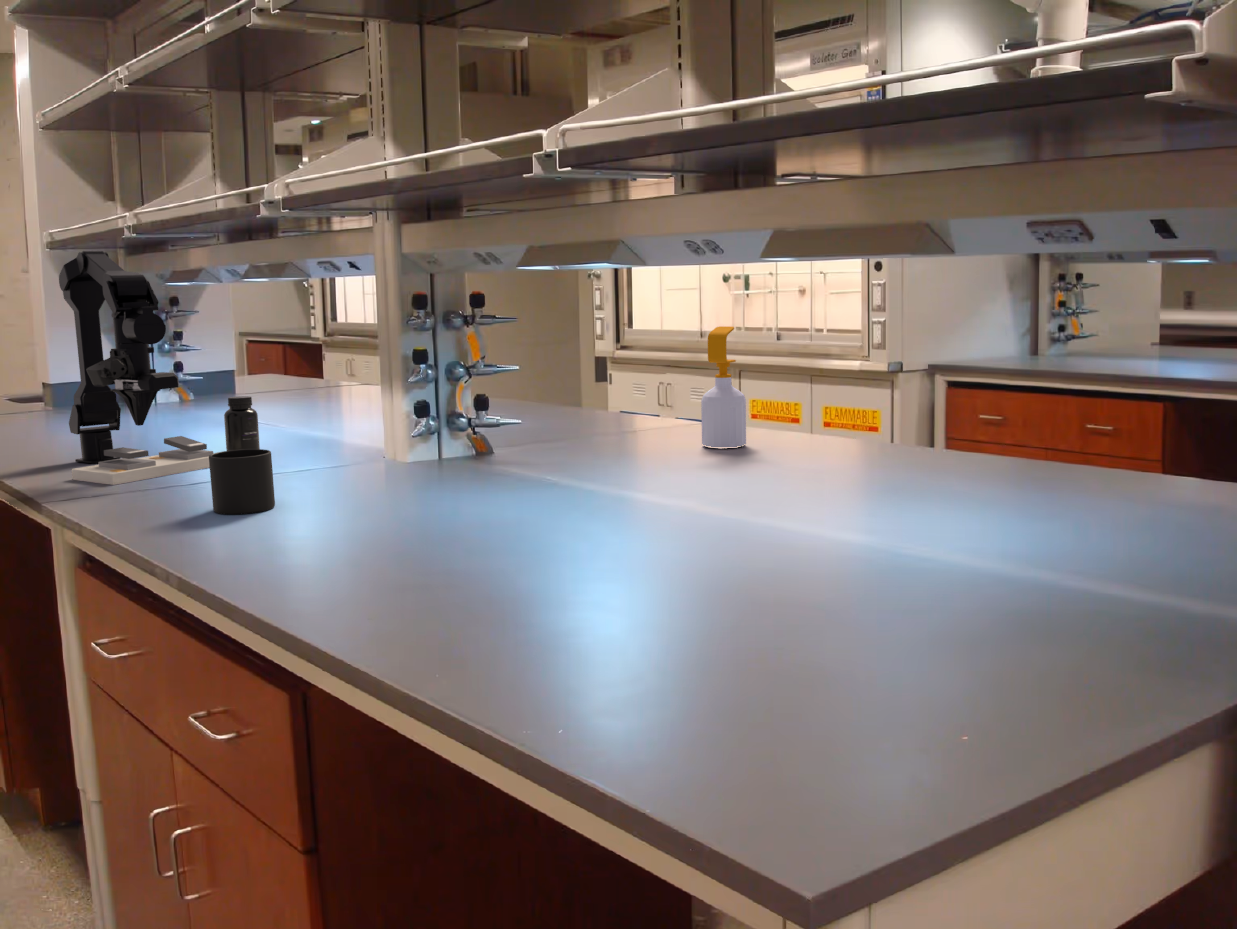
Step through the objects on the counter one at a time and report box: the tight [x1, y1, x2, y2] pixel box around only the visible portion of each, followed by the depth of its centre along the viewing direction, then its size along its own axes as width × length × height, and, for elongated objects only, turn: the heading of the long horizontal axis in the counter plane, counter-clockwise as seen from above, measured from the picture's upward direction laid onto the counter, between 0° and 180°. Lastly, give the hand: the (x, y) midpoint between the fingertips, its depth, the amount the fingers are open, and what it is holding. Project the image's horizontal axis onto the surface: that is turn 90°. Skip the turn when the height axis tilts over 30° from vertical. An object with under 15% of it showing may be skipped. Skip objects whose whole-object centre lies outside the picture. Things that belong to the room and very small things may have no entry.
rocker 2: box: [163, 435, 208, 452], centre depth 225 cm, size 8×4×1 cm, turn 57°
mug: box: [209, 448, 276, 516], centre depth 182 cm, size 9×12×9 cm
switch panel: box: [71, 448, 215, 486], centre depth 220 cm, size 13×25×3 cm, turn 147°
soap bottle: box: [700, 325, 747, 447], centre depth 232 cm, size 9×9×25 cm
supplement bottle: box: [223, 395, 261, 451], centre depth 241 cm, size 7×7×12 cm
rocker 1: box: [104, 447, 150, 459], centre depth 215 cm, size 8×4×1 cm, turn 57°
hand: (139, 425), depth 214 cm, fingers closed
